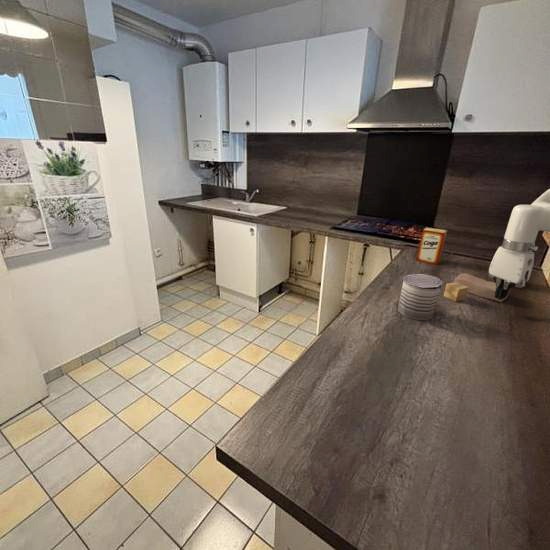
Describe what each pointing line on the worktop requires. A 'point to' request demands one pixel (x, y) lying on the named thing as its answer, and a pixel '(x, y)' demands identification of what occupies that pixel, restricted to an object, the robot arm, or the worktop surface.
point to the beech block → (456, 291)
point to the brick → (478, 286)
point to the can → (419, 296)
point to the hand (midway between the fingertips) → (499, 297)
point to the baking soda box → (431, 245)
